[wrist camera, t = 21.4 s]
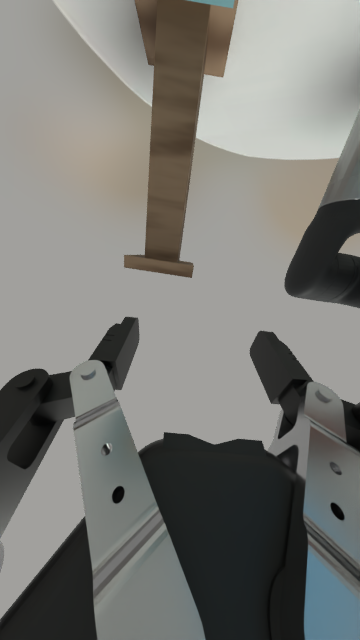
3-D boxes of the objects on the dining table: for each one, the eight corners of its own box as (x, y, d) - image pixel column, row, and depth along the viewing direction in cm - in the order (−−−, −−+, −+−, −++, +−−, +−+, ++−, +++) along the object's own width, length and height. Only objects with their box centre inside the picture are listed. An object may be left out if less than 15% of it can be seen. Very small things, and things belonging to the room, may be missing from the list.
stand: (124, -88, 15) (124, 267, 27) (250, -66, 15) (191, 277, 27) (149, 44, 24) (140, 263, 36) (226, 57, 24) (190, 271, 37)
